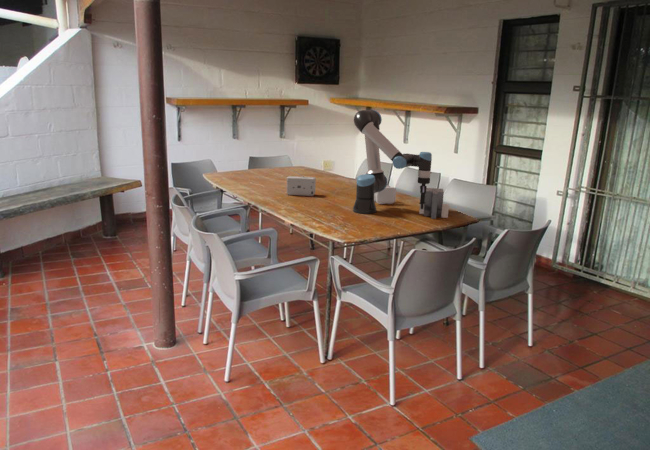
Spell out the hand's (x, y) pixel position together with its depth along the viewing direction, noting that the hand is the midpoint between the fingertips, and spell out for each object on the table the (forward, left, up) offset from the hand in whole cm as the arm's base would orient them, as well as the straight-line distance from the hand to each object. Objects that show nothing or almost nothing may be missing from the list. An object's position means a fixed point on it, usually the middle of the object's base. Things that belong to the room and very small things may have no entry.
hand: (421, 213), depth 335 cm
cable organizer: (-27, +32, -2) cm, 42 cm away
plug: (+9, 0, -1) cm, 9 cm away
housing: (+7, +8, -1) cm, 11 cm away
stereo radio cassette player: (-88, +42, -2) cm, 97 cm away
